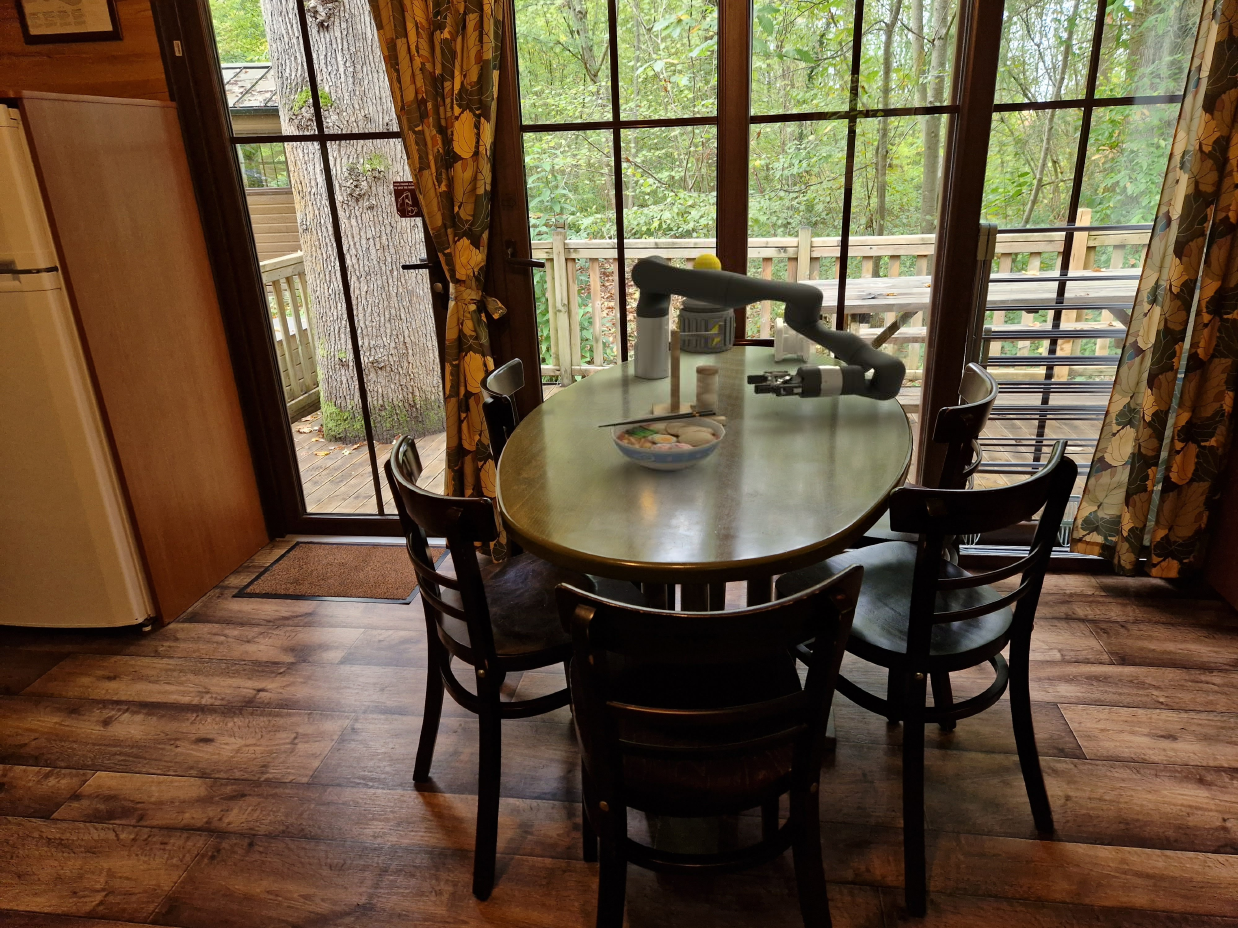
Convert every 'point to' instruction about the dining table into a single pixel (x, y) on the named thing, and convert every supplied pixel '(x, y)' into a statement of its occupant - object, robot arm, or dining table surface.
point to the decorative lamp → (705, 317)
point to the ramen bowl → (668, 439)
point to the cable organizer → (789, 341)
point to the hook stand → (675, 375)
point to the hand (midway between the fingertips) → (750, 384)
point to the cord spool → (707, 388)
